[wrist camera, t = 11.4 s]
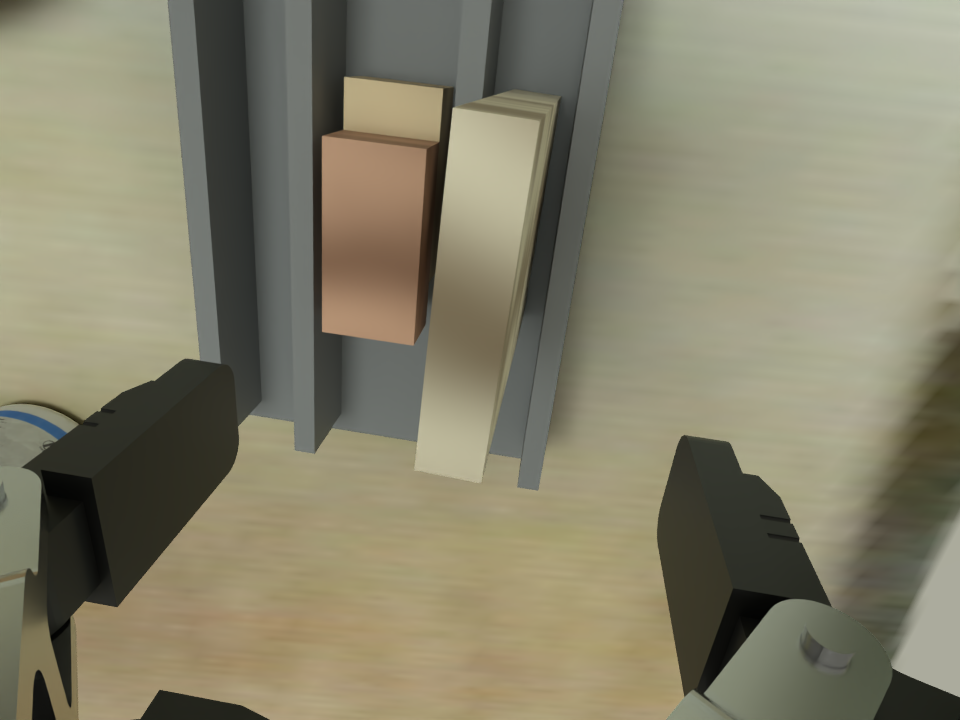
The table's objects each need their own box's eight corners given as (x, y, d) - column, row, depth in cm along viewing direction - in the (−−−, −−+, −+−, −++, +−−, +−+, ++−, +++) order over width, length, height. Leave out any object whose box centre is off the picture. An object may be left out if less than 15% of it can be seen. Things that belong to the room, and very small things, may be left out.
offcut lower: (362, 75, 28) (343, 76, 26) (453, 86, 27) (443, 88, 25) (358, 255, 31) (341, 270, 29) (439, 266, 31) (429, 282, 29)
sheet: (514, 89, 27) (453, 107, 15) (561, 96, 27) (540, 120, 14) (483, 309, 31) (414, 469, 19) (523, 316, 31) (481, 483, 19)
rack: (229, -157, 26) (148, -209, 21) (636, -119, 25) (652, -164, 20) (257, 401, 37) (208, 452, 32) (540, 446, 36) (535, 507, 31)
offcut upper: (343, 129, 26) (321, 135, 24) (439, 141, 26) (426, 149, 24) (341, 311, 30) (321, 331, 28) (425, 324, 29) (413, 345, 27)
